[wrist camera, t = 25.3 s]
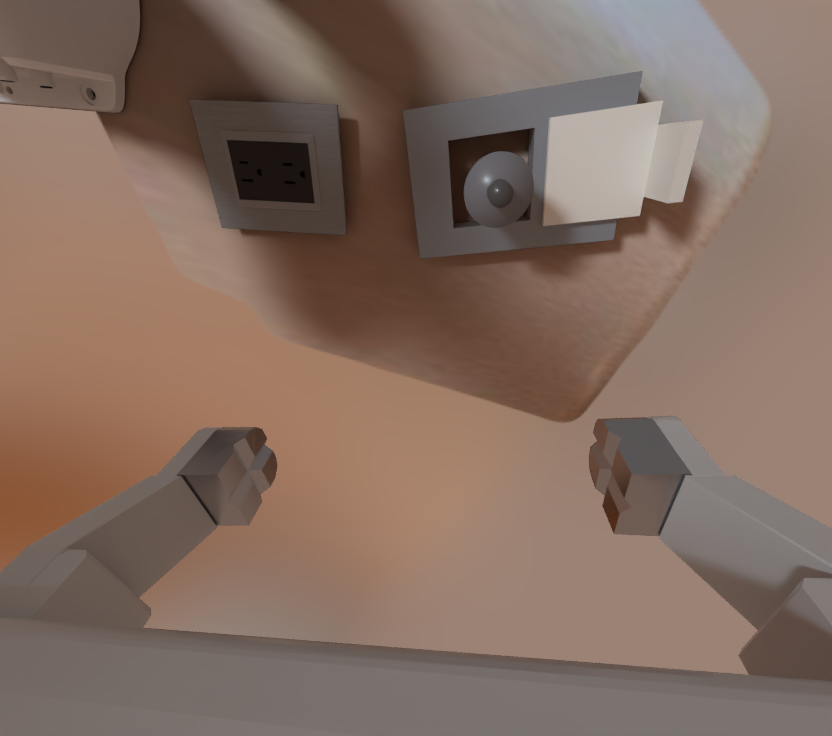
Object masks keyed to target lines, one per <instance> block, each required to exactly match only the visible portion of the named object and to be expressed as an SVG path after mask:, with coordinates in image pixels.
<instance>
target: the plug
mask: <svg viewBox="0 0 832 736" xmlns="http://www.w3.org/2000/svg"><path fill="white" fill-rule="evenodd" d="M533 191H534V180H533V175H532V172H531V169H530V167H529V166H528V164H527V163H526V162H525V161H524V160H523V159H522V158H521V157H520V156H518V155H516V154H514V153H511V152H505V151H497V152H492V153H490V154H487V155H484V156H482V157H480V158H479V159H477V160H476V161H475V162H474V163H473V164H472V166H471V167H470V169H469V171H468V173H467V177H466V180H465V184H464V201H465V205H466V208H467V210H468V212H469V214H470V215H471V217H472V218H473V219H474V220H475V221H476V222H478V223H479V224H481V225H483V226H486V227H490V228H500V227H504V226H507V225H510V224H512V223H513V222H515V221H516V220H517V219H519V218H520V217H521V216H522V215H523V214H524V212H525V211H526V210H527V208H528V206H529V204H530V202H531V199H532V196H533Z"/></svg>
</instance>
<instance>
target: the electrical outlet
mask: <svg viewBox="0 0 832 736" xmlns="http://www.w3.org/2000/svg"><path fill="white" fill-rule="evenodd" d="M189 102H190V106H191V110H192V113H193V117H194V121H195V125H196V129H197V133H198V137H199V141H200V145H201V148H202V152H203V156H204V160H205V164H206V168H207V172H208V176H209V180H210V183H211V187H212V191H213V195H214V199H215V203H216V207H217V211H218V214H219V218H220V222H221V226H222V228H231V229H248V230H264V231H281V232H298V233H314V234H331V235H347V227H346V213H345V199H344V185H343V171H342V157H341V143H340V129H339V115H338V105H333V104H305V103H276V102H247V101H218V100H189Z"/></svg>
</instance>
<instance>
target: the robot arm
mask: <svg viewBox="0 0 832 736" xmlns="http://www.w3.org/2000/svg"><path fill="white" fill-rule="evenodd" d="M139 29H140V5H139V0H0V103H2V104H13V105H25V106H37V107H49V108H61V109H62V108H63V109H73V110H86V111H98V112H110V113H118V112H120V111H121V110H122V109H123V106H124V101H125V74H126V71H127V68H128V65H129V63H130V61H131V59H132V57H133V55H134V52H135V49H136V46H137V42H138V37H139ZM93 91H94V93H95V95H96V98H95V97H94V95H93ZM593 433H594V435H595V437H596V439H597V442H596V443H594V444H593V445H592V446H591V447H590V454H589V468H590V473H591V477H592V480H593V483H594V486H595V488H596V489H597V490H598V491H600V492H601V493H602V494H603V495H605V497H604V502H603V508H604V511H605V513H606V516H607V518H608V521H609V523H610V525H611V528H612V530H613V533H614V534H626V535H646V536H659V539H660V540H661V541H662V542H664V543H665V544H666V545H667V546H668V547H669V548H670V549H671V550H672V551H673V552H674V553H675V554H676V555H677V556H679V557H680V558H681V559H682V560H683V561H684V562H685V563H686V564H687V565H688V566H689V567H690V568H691V569H693V570H694V571H695V572H696V573H697V574H698V575H699V576H700V577H701V578H702V579H703V580H704V581H706V582H707V583H708V584H709V585H710V586H711V587H712V588H713V589H714V590H715V591H716V592H717V593H718V594H720V595H721V596H722V597H723V598H724V599H725V600H726V601H727V602H728V603H729V604H730V605H732V606H733V607H734V608H735V609H736V610H737V611H738V612H739V613H740V614H741V615H742V616H743V617H744V618H746V619H747V620H748V621H749V622H750V623H751V624H752V625H753V626H754V627H755V628H756V629H757V630H758V631H757V633H755V634H754V636H753V637H752V638H751V639H750V640H749V641H748V642H747V644H746V645H745V646H744V647H743V648H742V650H741V652H740V654H739V657H740V659H741V661H742V663H743V665H744V666H745V668H746V670H747V672H748V674H749V675H745V674H732V673H719V672H706V671H693V670H681V669H668V668H655V667H642V666H629V665H615V664H603V663H590V662H578V661H564V660H551V659H539V658H526V657H513V656H500V655H487V654H474V653H462V652H448V651H435V650H423V649H410V648H397V647H385V646H372V645H359V644H344V643H333V642H320V641H307V640H295V639H282V638H269V637H256V636H243V635H230V634H216V633H204V632H190V631H178V630H165V629H152V628H143V627H144V625H145V624H146V622H147V621H148V619H149V618H150V616H151V608H150V607H149V606H148V605H146V604H145V603H144V602H143V601H142V600H141V599H140V598H139V597H140V596H141V595H143V593H145V592H146V591H147V590H148V589H149V588H150V587H151V586H153V584H155V583H156V582H157V581H158V580H159V579H160V578H161V577H163V576H164V575H165V574H166V573H167V572H168V571H169V570H170V569H171V568H173V567H174V566H175V565H176V564H177V563H178V562H179V561H180V560H182V559H183V558H184V557H185V556H186V555H187V554H188V553H189V552H190V551H192V550H193V549H194V548H195V547H196V546H197V545H198V544H199V543H201V542H202V541H203V540H204V539H205V538H206V537H207V536H208V535H210V534H211V532H213V531H214V530H215V529H216V528H217V526H220V525H221V526H229V525H249V524H250V522H251V521H252V519H253V517H254V515H255V513H256V512H257V510H258V508H259V506H260V505H261V503H262V499H261V494H262V493H263V492H264V491H265V490H267V489H268V488H269V487H270V486H271V484H272V483H273V481H274V479H275V476H276V471H277V460H276V457H275V454H274V452H273V451H272V450H271V449H270V448H268V447H267V446H266V445H265V443H266V440H267V437H266V435H265V434H264V432H263V430H262V429H260V428H257V427H222V428H203V429H200V430H198V431H197V432H196V433H195V434H194V435H193V437H192V438H191V439H190V440H189V441H188V442H187V443H186V444H185V445H184V446H183V447H182V448H181V449H180V451H179V452H178V453H177V454H176V455H175V456H174V457H173V458H172V459H171V460H170V461H169V462H168V464H167V465H166V466H165V467H164V468H163V469H162V470H161V471H160V472H159V473H158V475H156V476H149V477H148V478H146V479H144V480H143V481H141V482H139V483H137V484H136V485H134V486H132V487H130V488H129V489H127V490H125V491H123V492H122V493H120V494H118V495H116V496H115V497H113V498H111V499H109V500H108V501H106V502H104V503H102V504H101V505H99V506H97V507H95V508H94V509H92V510H90V511H88V512H87V513H85V514H83V515H81V516H80V517H78V518H76V519H74V520H73V521H71V522H69V523H68V524H66V525H64V526H62V527H60V528H59V529H57V530H55V531H53V532H52V533H50V534H48V535H46V536H45V537H43V538H41V539H39V540H38V541H36V542H34V543H32V544H31V545H29V546H28V547H27V548H25V549H24V550H23V551H22V552H21V553H20V554H19V555H18V556H17V557H16V558H15V559H14V560H13V561H11V563H9V564H8V565H7V566H6V567H5V568H4V569H3V570H2V571H1V572H0V736H832V528H830V527H828V526H826V525H824V524H823V523H821V522H819V521H817V520H815V519H813V518H812V517H809V516H808V515H806V514H804V513H802V512H801V511H799V510H797V509H795V508H793V507H791V506H789V505H788V504H786V503H784V502H782V501H780V500H779V499H777V498H775V497H773V496H771V495H769V494H768V493H766V492H764V491H762V490H760V489H759V488H757V487H755V486H753V485H751V484H749V483H747V482H746V481H744V480H742V479H740V478H738V477H737V476H726V475H725V474H724V472H723V471H722V470H721V469H720V468H719V466H718V465H717V464H716V463H715V462H714V460H713V459H712V458H711V457H710V456H709V454H708V453H707V452H706V451H705V449H704V448H703V447H702V446H701V444H700V443H699V442H698V441H697V440H696V438H695V437H694V436H693V435H692V433H691V432H690V431H689V430H688V429H687V427H686V426H685V425H684V424H683V422H682V421H681V420H680V419H679V418H677V417H675V416H659V417H647V418H615V419H614V418H613V419H598V420H597V422H596V423H595V427H594V432H593Z"/></svg>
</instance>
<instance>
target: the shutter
mask: <svg viewBox="0 0 832 736" xmlns="http://www.w3.org/2000/svg"><path fill="white" fill-rule="evenodd" d="M662 104H663V101H656V102H649V103H643V104H636V105H630V106H623V107H616V108H610V109H603V110H597V111H590V112H583V113H577V114H570V115H564V116H557V117H551V118H549V124H548V140H547V155H546V170H545V186H544V201H543V217H542V225H543V226H550V225H559V224H568V223H578V222H587V221H597V220H606V219H615V218H625V217H634V216H640V213H641V208H642V203H643V198H644V197H646V198H650V199H654V200H657V201H661V202H664V203H676V202H683V198H684V194H685V190H686V187H687V183H688V179H689V175H690V171H691V167H692V163H693V159H694V156H695V152H696V148H697V144H698V140H699V136H700V132H701V128H702V125H703V121H704V120H694V121H685V122H675V123H668V124H661V125H658V124H659V119H660V114H661V109H662Z"/></svg>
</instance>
